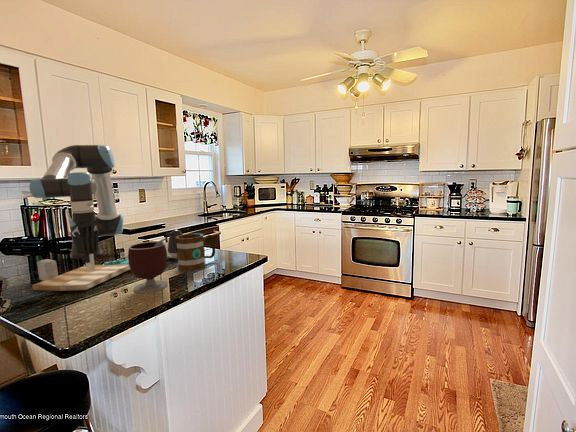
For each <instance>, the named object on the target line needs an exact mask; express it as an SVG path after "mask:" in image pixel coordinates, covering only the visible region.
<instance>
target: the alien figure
mask: <svg viewBox="0 0 576 432" xmlns="http://www.w3.org/2000/svg"><path fill="white" fill-rule="evenodd" d="M123 264H129V261H128V258H126V259H119V260H113V261H106V262H103V265H123Z"/></svg>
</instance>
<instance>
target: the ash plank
mask: <svg viewBox="0 0 576 432" xmlns="http://www.w3.org/2000/svg"><path fill="white" fill-rule="evenodd" d="M129 270H131V269H130V266H129V264H123V265H119V264H117V265H109V266H106V267H104V268H101V269H99V270H96V271H94V272H91V273H89V274H87V275H84V276H82V277H79V278H77V279H74V280H72V281H69V282H67V283H65V284H62V285H60V286H59V291H61V292H62V291H63V292H64V291H86V290H89V289H92V288H93V287H95V286H98V285H99V284H101V283H104V282H105V281H106V282H107V281H109V280H110V279H112V278H114V277H117V276H119V275H120V274H123V273H125V272H128V271H129Z"/></svg>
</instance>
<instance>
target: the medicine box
mask: <svg viewBox="0 0 576 432" xmlns="http://www.w3.org/2000/svg"><path fill="white" fill-rule="evenodd" d="M36 265H37V266H36V267H37V271H38V278H39V279H38V280H40V281H41V282H42V281H45V280H48V279H50V278H53V277H56V276H58V275H59V271H58V266H57V261H56V260H53V259H48V258H46V259H41V260H37V261H36Z"/></svg>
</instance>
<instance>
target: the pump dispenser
mask: <svg viewBox="0 0 576 432" xmlns="http://www.w3.org/2000/svg"><path fill="white" fill-rule="evenodd" d="M165 235H167V236H169V237H168V239H167V240H168V242H167V254H168V255H169V256H170V258H172V259H178V257H177V243H176V236H180V235H184V234H183V233H182V231H181V230H179V229H174V230H172V231H171V232H166V234H165Z"/></svg>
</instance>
